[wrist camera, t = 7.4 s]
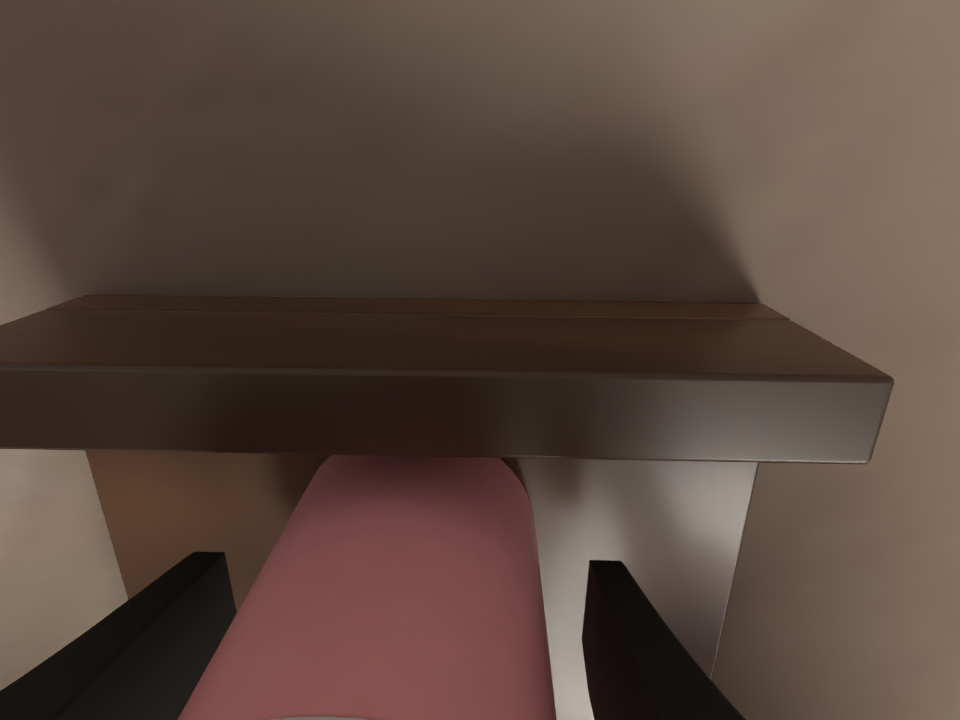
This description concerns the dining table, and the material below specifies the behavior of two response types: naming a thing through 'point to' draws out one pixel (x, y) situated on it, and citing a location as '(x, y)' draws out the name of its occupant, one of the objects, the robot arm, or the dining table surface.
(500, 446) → the serving board
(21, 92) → the dining table surface
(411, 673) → the yogurt pot
